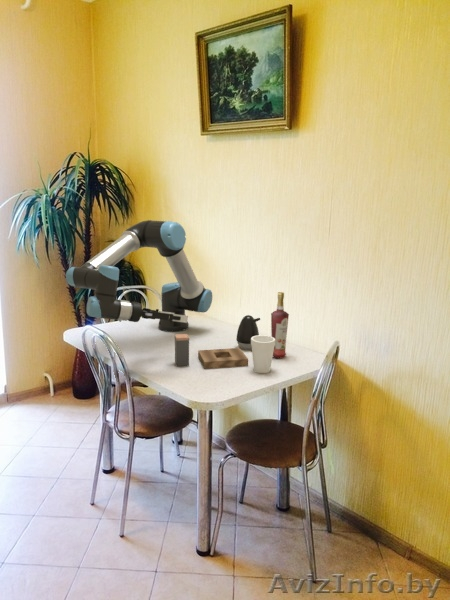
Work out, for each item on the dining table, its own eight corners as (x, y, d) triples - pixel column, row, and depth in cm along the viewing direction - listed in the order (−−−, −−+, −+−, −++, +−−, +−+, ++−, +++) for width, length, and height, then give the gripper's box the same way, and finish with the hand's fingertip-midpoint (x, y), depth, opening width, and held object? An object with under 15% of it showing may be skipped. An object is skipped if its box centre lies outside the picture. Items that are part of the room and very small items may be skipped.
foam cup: (261, 364, 197) (262, 333, 194) (278, 370, 191) (280, 339, 188) (245, 369, 190) (246, 338, 188) (262, 376, 184) (264, 344, 181)
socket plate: (204, 369, 190) (204, 361, 190) (198, 357, 204) (198, 350, 203) (248, 366, 195) (248, 359, 194) (239, 354, 208) (239, 347, 207)
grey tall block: (176, 366, 192) (176, 338, 190) (175, 362, 197) (174, 334, 194) (189, 366, 193) (189, 337, 191) (187, 361, 198) (187, 333, 195)
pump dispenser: (257, 352, 211) (258, 319, 207) (234, 350, 213) (235, 317, 209) (260, 345, 221) (261, 313, 217) (238, 343, 223) (239, 311, 219)
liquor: (277, 360, 201) (280, 295, 195) (265, 355, 207) (268, 292, 201) (290, 357, 205) (293, 293, 199) (278, 352, 211) (281, 290, 205)
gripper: (118, 318, 193) (167, 323, 203) (138, 324, 171) (191, 330, 181) (121, 299, 193) (169, 306, 203) (141, 303, 171) (194, 310, 181)
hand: (180, 317), depth 192 cm, fingers open, 13 cm apart
